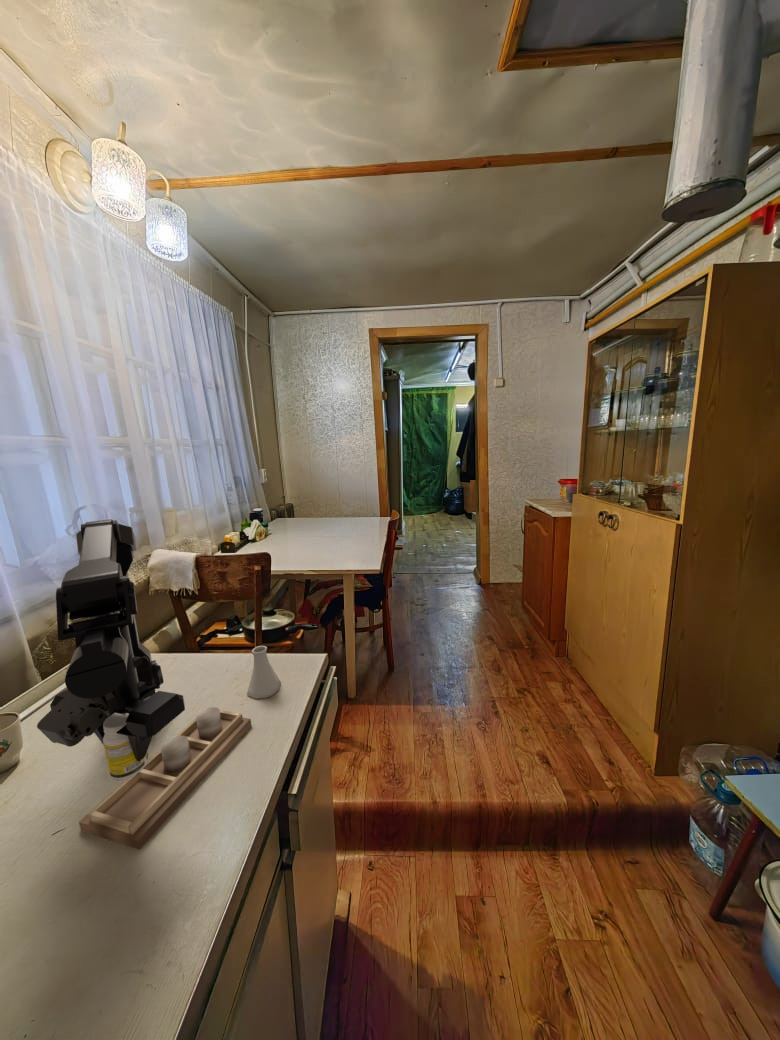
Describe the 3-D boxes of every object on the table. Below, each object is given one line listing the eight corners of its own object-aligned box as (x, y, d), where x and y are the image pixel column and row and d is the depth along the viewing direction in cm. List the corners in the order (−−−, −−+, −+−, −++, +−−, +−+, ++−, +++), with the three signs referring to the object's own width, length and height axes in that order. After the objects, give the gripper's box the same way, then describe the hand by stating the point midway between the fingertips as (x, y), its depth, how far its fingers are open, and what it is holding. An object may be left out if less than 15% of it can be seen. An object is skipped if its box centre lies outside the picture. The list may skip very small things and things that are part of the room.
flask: (271, 701, 82) (266, 658, 80) (241, 698, 83) (235, 657, 81) (286, 681, 89) (282, 641, 87) (258, 679, 90) (253, 640, 88)
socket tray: (80, 830, 55) (74, 801, 54) (205, 716, 78) (202, 695, 77) (139, 849, 52) (132, 819, 51) (251, 725, 75) (248, 702, 74)
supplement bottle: (123, 756, 58) (113, 708, 57) (154, 753, 59) (146, 705, 57) (102, 783, 54) (91, 731, 52) (137, 779, 54) (127, 728, 53)
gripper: (-8, 684, 48) (19, 789, 51) (100, 706, 43) (124, 821, 46) (83, 641, 59) (102, 730, 62) (179, 655, 53) (195, 751, 56)
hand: (128, 755), depth 56 cm, fingers closed on supplement bottle, 5 cm apart
